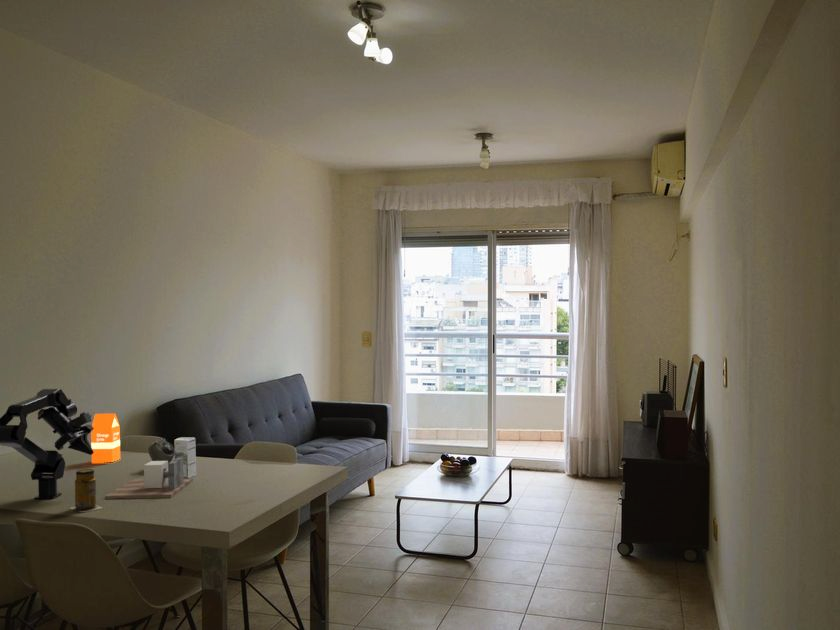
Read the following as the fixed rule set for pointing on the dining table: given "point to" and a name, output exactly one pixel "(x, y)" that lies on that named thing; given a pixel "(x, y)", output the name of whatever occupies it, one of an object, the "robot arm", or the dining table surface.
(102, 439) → the orange juice
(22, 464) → the dining table surface
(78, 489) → the condiment
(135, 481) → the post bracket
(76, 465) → the dining table surface
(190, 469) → the syrup box
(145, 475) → the white box with window
